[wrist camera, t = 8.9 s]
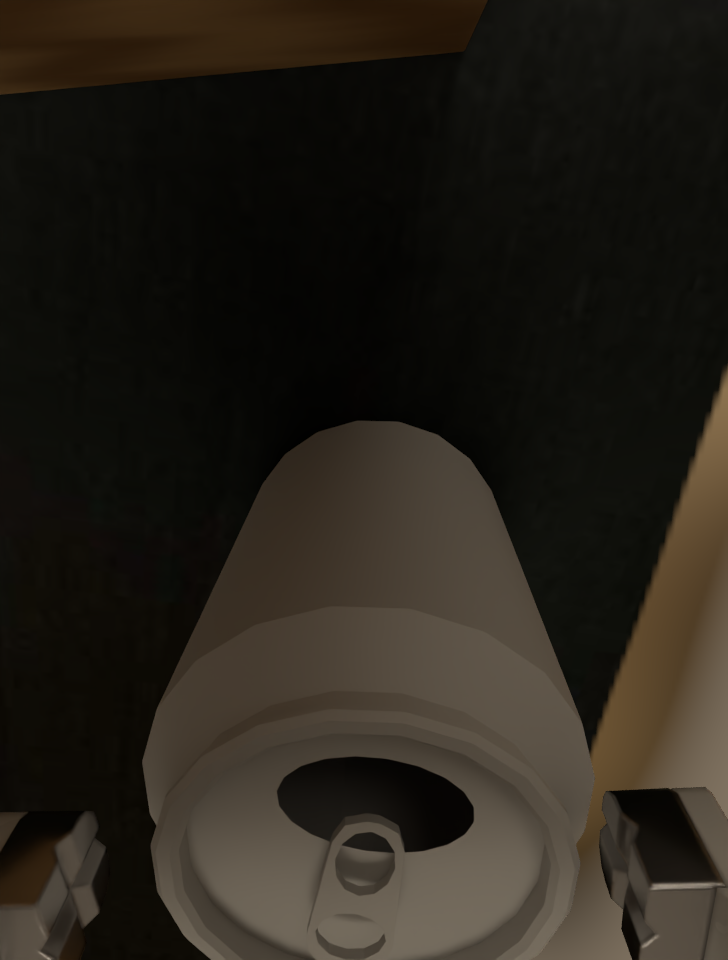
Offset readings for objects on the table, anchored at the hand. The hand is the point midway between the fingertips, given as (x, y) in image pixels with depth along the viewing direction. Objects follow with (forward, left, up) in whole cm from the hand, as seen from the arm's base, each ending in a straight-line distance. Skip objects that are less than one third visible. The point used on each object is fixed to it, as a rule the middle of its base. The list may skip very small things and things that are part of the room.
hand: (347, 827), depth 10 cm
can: (0, 0, -11) cm, 11 cm away
